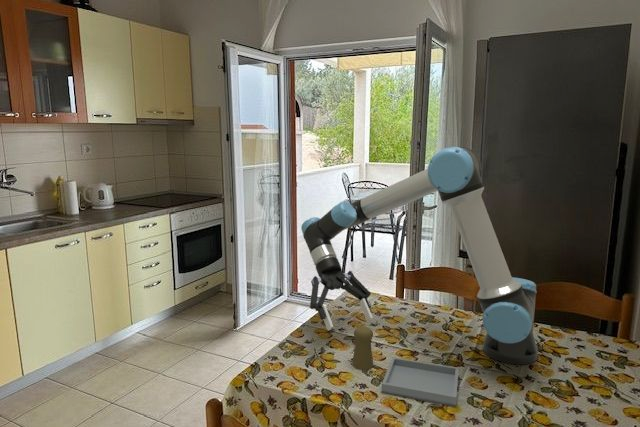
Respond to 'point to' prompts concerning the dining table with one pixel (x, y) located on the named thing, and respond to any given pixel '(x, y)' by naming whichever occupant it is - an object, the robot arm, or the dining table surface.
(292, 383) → the dining table surface
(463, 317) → the dining table surface
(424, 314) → the dining table surface
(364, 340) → the cork
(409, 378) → the tray
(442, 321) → the dining table surface
